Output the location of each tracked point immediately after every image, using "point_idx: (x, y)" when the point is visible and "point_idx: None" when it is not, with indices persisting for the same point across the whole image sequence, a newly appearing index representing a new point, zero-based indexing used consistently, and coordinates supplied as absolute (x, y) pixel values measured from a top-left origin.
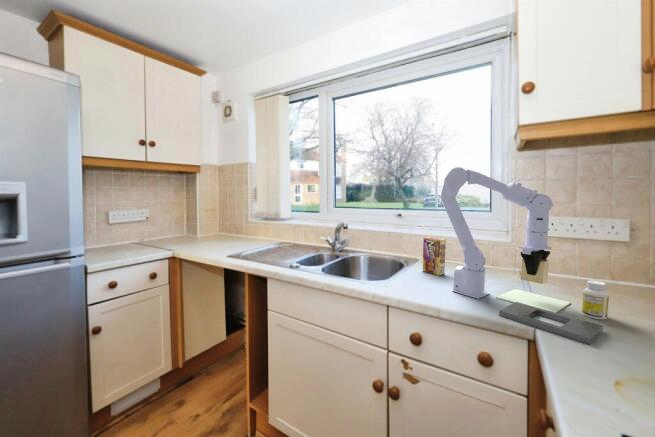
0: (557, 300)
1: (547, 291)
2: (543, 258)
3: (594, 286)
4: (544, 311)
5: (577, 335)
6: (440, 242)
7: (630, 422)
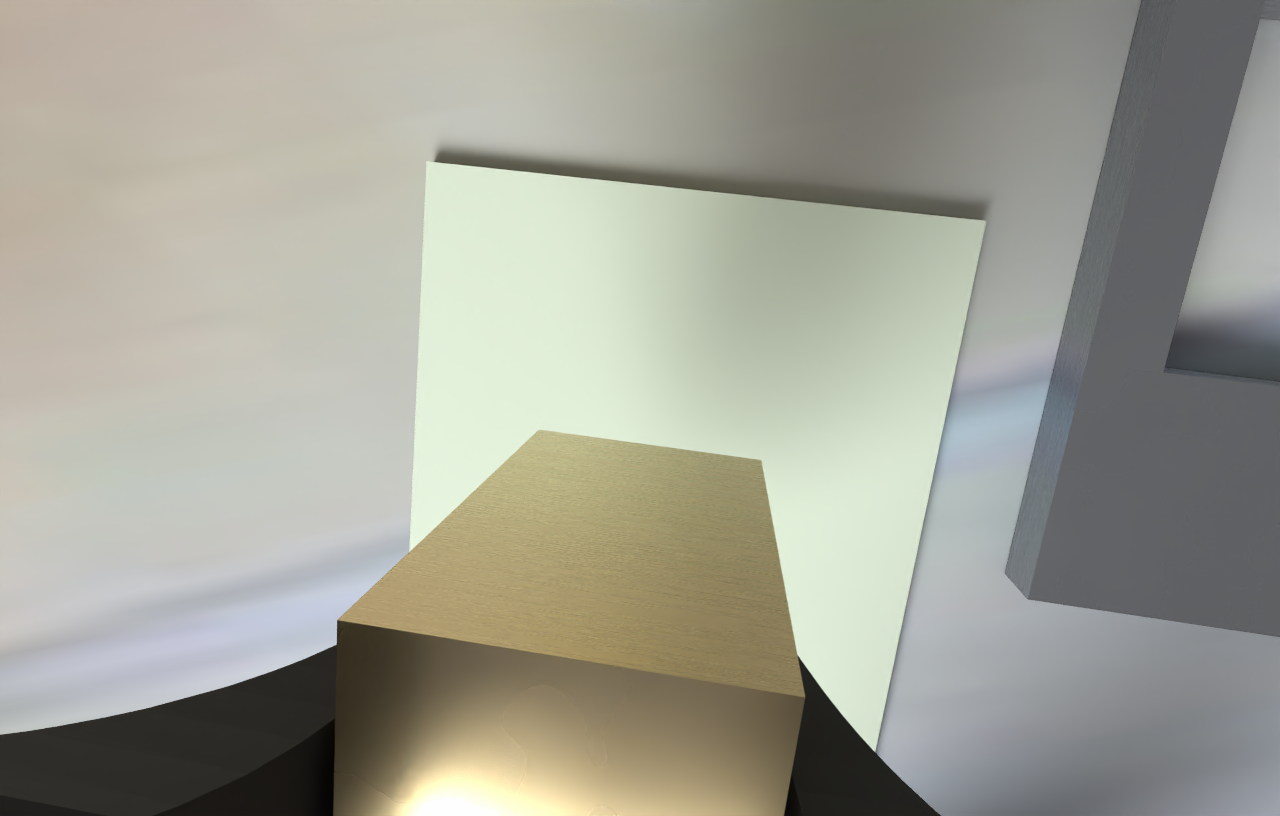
0: (471, 285)
1: (172, 437)
2: (298, 784)
3: None
4: (1183, 288)
5: None
6: None
7: None
